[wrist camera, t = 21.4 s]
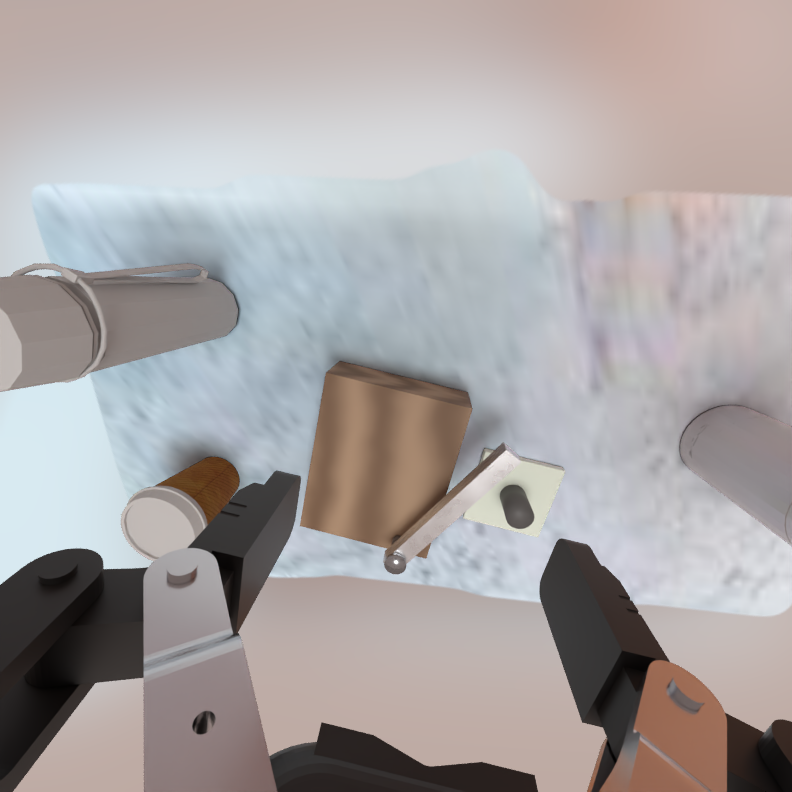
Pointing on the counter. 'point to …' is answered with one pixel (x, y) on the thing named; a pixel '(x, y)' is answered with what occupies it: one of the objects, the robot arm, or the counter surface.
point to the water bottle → (102, 320)
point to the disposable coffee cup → (178, 507)
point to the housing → (381, 453)
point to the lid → (519, 497)
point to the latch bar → (451, 507)
